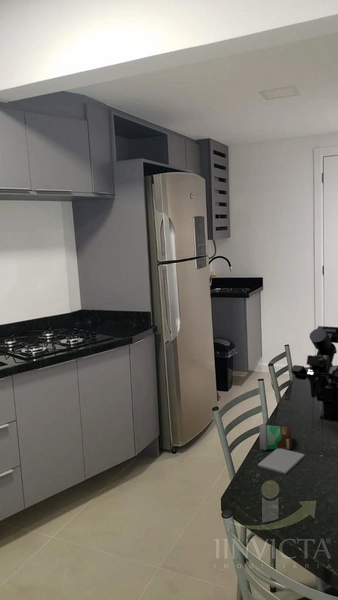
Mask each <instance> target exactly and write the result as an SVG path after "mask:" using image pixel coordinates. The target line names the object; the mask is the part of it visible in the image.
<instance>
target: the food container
mask: <svg viewBox="0 0 338 600" xmlns="http://www.w3.org/2000/svg"><path fill="white" fill-rule="evenodd" d="M258 427H259V428H258V429H259V432H258V434H259V450H262V451H267V450H276V449H280V448H281V449H285V450H292V449H293V443H292V439H293V438H292V430H291V429H292V428H291V426H289V427H287V426H277V425H267V423H261V424H259V426H258Z"/></svg>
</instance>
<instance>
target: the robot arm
mask: <svg viewBox="0 0 338 600" xmlns="http://www.w3.org/2000/svg"><path fill="white" fill-rule="evenodd" d="M309 339H310V341H311V343H312V345H314V348H315V349H316V350H317V352H316V354H314V355H307V356H306V357H307V358H306V365H307V366H308V367H309V369H306V367H305V366H304V365H297V364H295V365H293V366H292V367H291V369H290V373H291V374H292V376H294V378H295V379H296V380H302V381H303V380H304V381H305V380H307V379H308V382H309V384H310V396H311V398H312V399H313V398H316V401H317V402H322V414H321V415H320V416H319V419H323V420H327V421H333V422H338V366H337V367H336V368H335V369H333V370H332V371H331V372H332V373H331V372H330V370H331V368H333V366H334V364H333V360H334V357H335V354H337V352H338V351H337V347H336V344H338V327H337V326H327V325H326V326H325V325H324V326H321V325H318V326H317V328H316V329H313V330H312V331H311V332H310V333H309Z"/></svg>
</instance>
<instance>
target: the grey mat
mask: <svg viewBox="0 0 338 600" xmlns="http://www.w3.org/2000/svg"><path fill="white" fill-rule="evenodd" d="M304 458H305V454H304V453H300V452H297V451H292V450H290V449H281V448H280V449H273V451H272V452H271V453H270V454H268V455H267V456H266V457H264V458H263V459H262V460H261V461H260V462H259V463H257V467H258V468H259V467H260V468H262V469H266V470H269V471H273V472H275V473H280V474H284V475H286V474H287V473H288V472H290V471H291V470H292V469H293V468H294V467H295V466H296V465H297V464H298V463H299V462H300V461H301V460H303V459H304Z"/></svg>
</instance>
